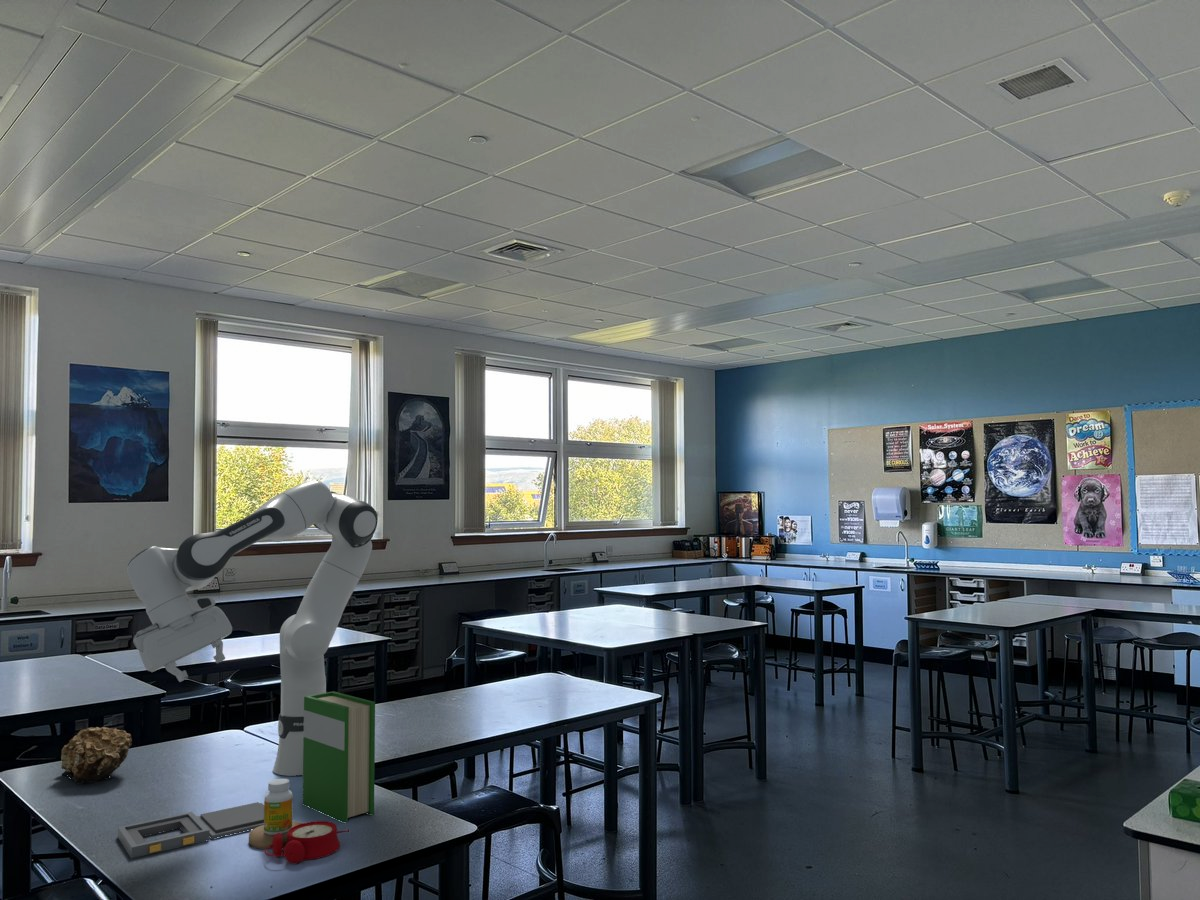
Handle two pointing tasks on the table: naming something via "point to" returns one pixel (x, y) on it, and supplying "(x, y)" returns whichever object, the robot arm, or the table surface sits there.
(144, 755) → the table surface
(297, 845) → the alarm clock
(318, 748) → the hardback book
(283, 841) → the round brown pad
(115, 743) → the fossil
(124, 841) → the equipment case
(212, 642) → the robot arm
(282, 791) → the supplement bottle
